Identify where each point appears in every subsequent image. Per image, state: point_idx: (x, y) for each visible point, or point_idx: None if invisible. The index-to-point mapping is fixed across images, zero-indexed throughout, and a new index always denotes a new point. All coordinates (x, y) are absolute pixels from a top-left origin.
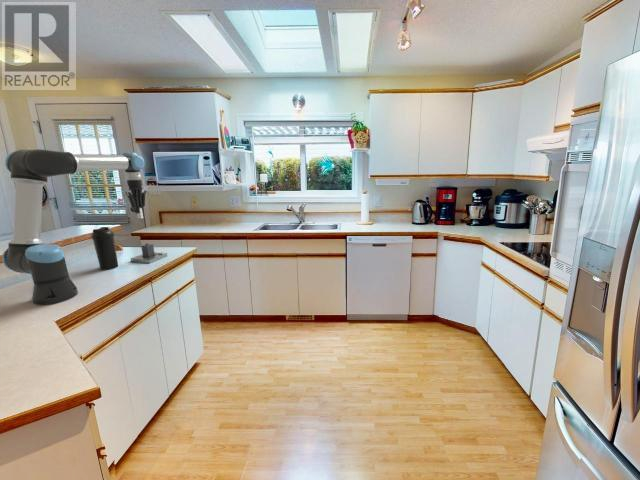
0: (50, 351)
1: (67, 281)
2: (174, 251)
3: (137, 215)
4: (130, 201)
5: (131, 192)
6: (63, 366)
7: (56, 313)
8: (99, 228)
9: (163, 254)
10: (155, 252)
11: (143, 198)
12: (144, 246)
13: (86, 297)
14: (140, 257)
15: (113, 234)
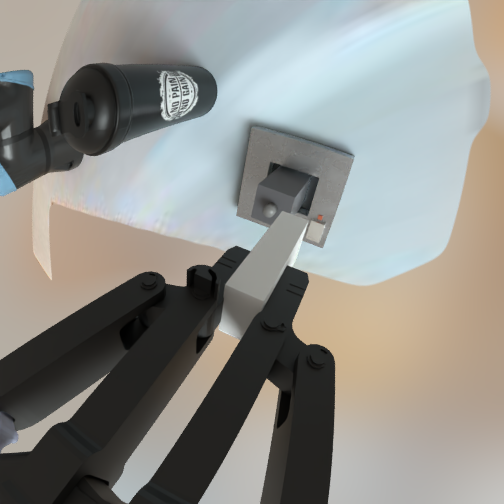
0: (44, 237)
1: (51, 171)
2: (393, 248)
3: (269, 227)
4: (67, 328)
5: (7, 463)
6: (46, 256)
7: (55, 187)
8: (64, 101)
9: (305, 240)
10: (339, 195)
11: (264, 489)
12: (254, 202)
13: (79, 190)
14: (266, 163)
15: (109, 150)
